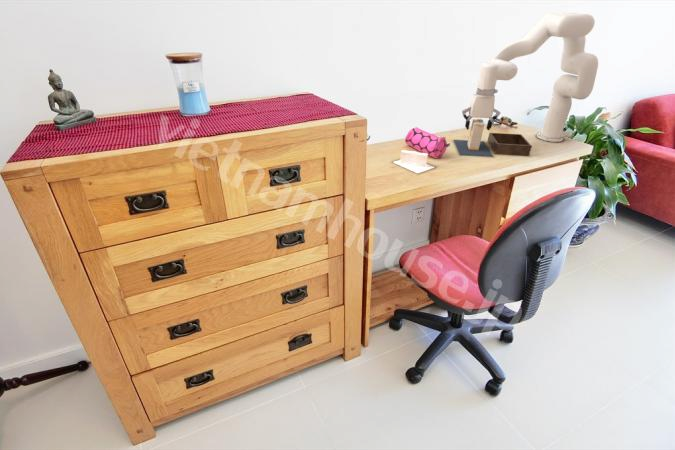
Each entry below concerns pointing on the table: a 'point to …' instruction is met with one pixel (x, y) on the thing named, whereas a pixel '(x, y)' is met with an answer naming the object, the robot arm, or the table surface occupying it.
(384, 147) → the table surface
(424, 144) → the pencil case
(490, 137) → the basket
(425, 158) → the napkin holder
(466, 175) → the table surface
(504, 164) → the table surface
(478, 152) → the mat
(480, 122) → the supplement box
